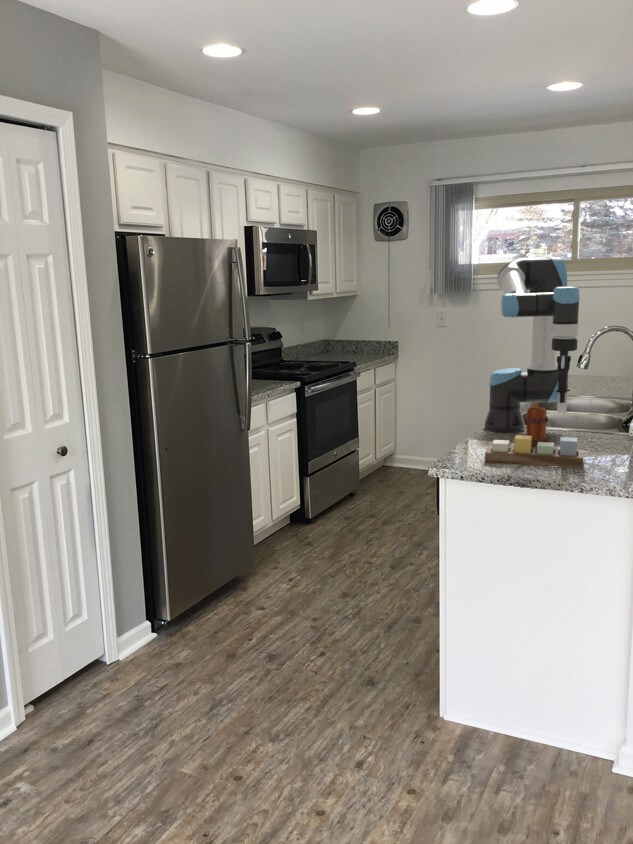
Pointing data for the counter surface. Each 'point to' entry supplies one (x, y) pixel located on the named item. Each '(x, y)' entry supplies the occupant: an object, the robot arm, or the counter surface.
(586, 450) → the counter surface
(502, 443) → the key cream
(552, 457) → the keypad board
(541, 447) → the key sage
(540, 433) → the orange bottle
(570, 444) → the key slate
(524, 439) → the key mustard
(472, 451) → the counter surface
